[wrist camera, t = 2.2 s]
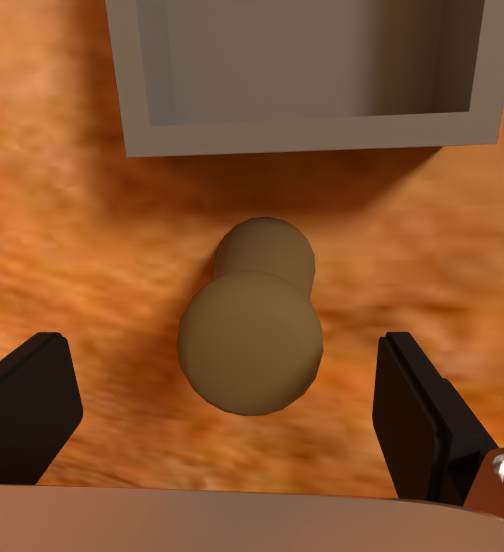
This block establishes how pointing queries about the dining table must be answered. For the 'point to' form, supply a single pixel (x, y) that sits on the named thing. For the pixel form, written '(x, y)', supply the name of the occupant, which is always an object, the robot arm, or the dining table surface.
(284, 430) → the dining table surface
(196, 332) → the tan piece
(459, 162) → the dining table surface
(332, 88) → the gray square tray
